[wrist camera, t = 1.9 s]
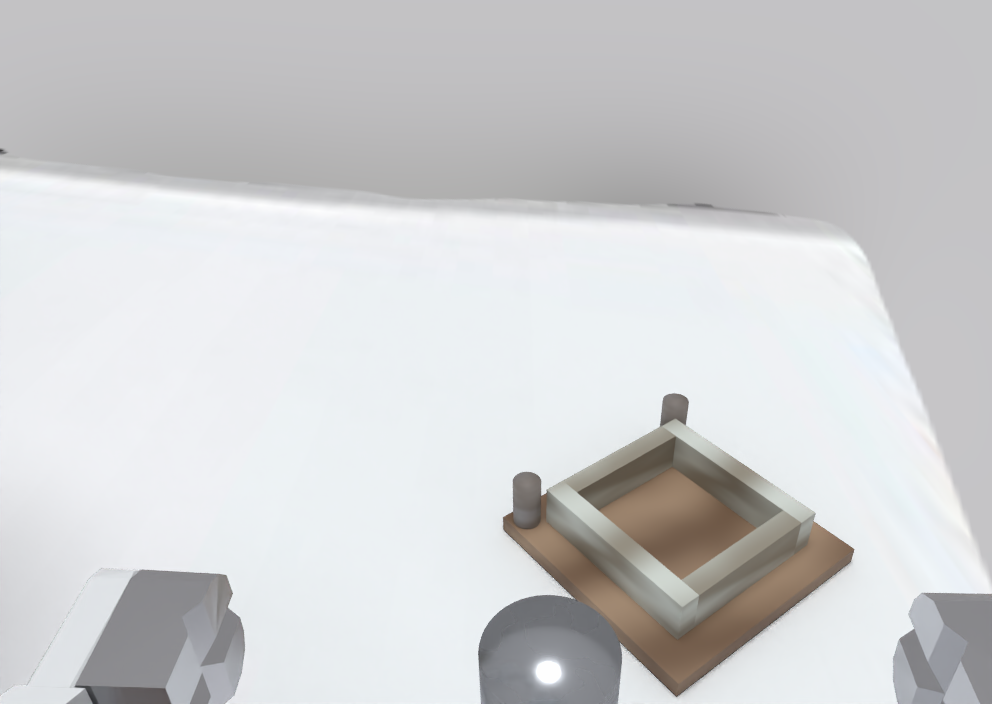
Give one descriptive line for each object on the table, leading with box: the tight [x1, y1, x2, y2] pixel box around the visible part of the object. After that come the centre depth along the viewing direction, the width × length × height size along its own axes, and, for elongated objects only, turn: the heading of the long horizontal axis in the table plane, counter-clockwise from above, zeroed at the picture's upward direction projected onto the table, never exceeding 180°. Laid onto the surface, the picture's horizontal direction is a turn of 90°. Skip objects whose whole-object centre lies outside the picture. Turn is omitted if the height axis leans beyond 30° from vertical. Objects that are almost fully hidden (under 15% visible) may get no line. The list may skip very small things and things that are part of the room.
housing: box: [503, 394, 854, 696], centre depth 49 cm, size 14×14×4 cm
